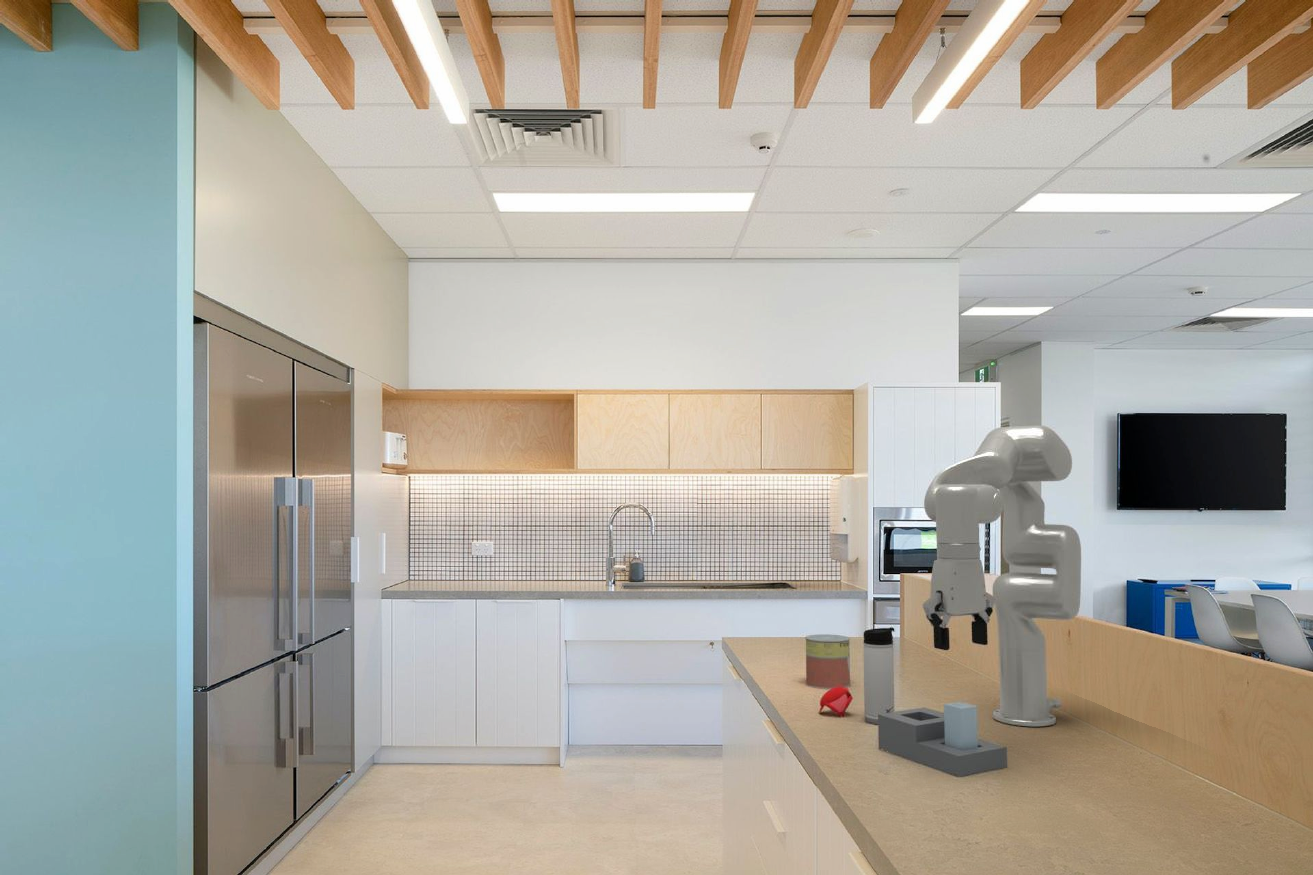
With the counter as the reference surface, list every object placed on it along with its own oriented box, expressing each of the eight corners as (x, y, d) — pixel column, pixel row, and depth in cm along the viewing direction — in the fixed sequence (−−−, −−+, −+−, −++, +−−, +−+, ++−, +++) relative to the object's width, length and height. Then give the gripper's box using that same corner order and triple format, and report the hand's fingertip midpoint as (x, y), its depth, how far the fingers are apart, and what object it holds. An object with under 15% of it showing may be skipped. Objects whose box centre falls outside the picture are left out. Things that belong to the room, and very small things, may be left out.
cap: (854, 696, 204) (831, 681, 206) (857, 692, 199) (833, 677, 200) (836, 726, 202) (813, 711, 204) (839, 724, 196) (815, 707, 198)
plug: (958, 756, 166) (957, 701, 167) (978, 762, 162) (976, 706, 163) (942, 759, 164) (941, 703, 165) (962, 765, 160) (960, 708, 161)
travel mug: (897, 725, 190) (895, 629, 192) (865, 724, 192) (863, 629, 193) (895, 718, 196) (893, 625, 198) (864, 717, 198) (862, 625, 199)
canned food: (854, 689, 227) (853, 641, 228) (809, 689, 227) (809, 641, 228) (845, 680, 238) (845, 634, 239) (802, 680, 238) (802, 634, 239)
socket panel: (924, 740, 179) (924, 707, 179) (1007, 766, 161) (1006, 729, 161) (878, 748, 173) (878, 714, 173) (958, 776, 155) (957, 738, 156)
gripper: (975, 549, 174) (978, 639, 173) (908, 553, 165) (911, 647, 165) (1007, 551, 167) (1010, 644, 166) (939, 556, 159) (942, 654, 158)
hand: (961, 646), depth 165 cm, fingers open, 9 cm apart
